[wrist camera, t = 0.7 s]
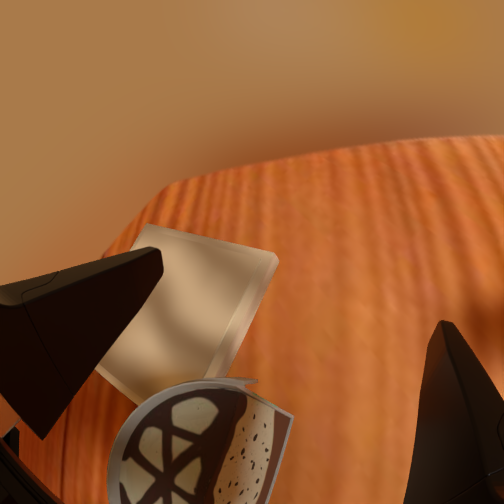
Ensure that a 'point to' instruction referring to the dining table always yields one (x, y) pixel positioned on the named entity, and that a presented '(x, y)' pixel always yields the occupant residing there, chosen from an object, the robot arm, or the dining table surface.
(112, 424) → the dining table surface
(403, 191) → the dining table surface
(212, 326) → the serving board
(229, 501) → the food container
